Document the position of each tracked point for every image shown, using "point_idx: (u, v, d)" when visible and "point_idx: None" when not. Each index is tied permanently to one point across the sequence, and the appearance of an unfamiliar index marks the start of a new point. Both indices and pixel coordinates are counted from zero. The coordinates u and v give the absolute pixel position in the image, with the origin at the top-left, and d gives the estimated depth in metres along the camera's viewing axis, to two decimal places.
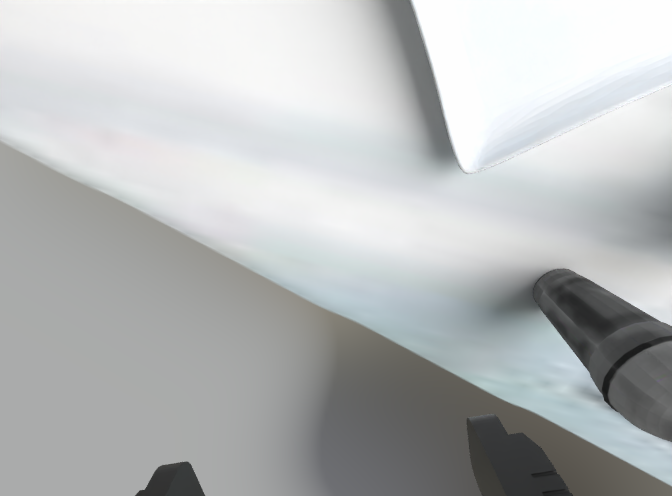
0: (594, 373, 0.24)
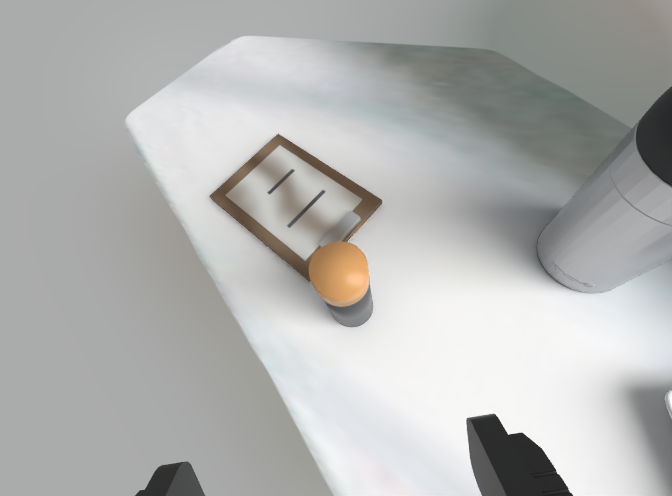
0: None
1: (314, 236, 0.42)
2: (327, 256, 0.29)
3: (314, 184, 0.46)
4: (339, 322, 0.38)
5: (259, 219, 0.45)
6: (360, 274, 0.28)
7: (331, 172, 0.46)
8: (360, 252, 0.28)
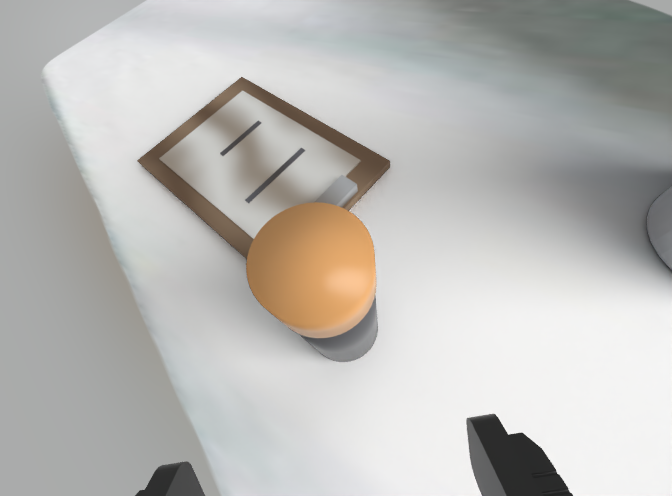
0: None
1: None
2: (288, 234, 0.13)
3: (289, 141, 0.31)
4: (322, 354, 0.23)
5: (204, 191, 0.29)
6: (357, 272, 0.12)
7: (314, 124, 0.31)
8: (358, 224, 0.13)
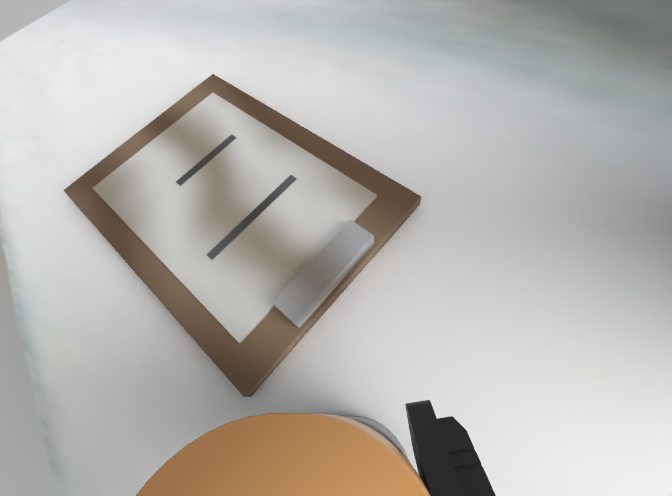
0: None
1: (266, 281, 0.18)
2: None
3: (273, 164, 0.22)
4: None
5: (150, 239, 0.20)
6: None
7: (309, 140, 0.22)
8: None
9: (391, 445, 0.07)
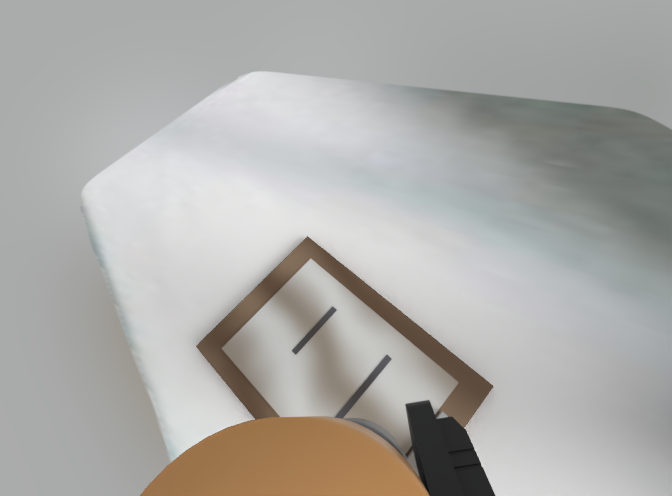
0: None
1: None
2: None
3: (371, 341, 0.27)
4: None
5: (278, 406, 0.26)
6: None
7: (398, 318, 0.28)
8: None
9: (392, 448, 0.06)
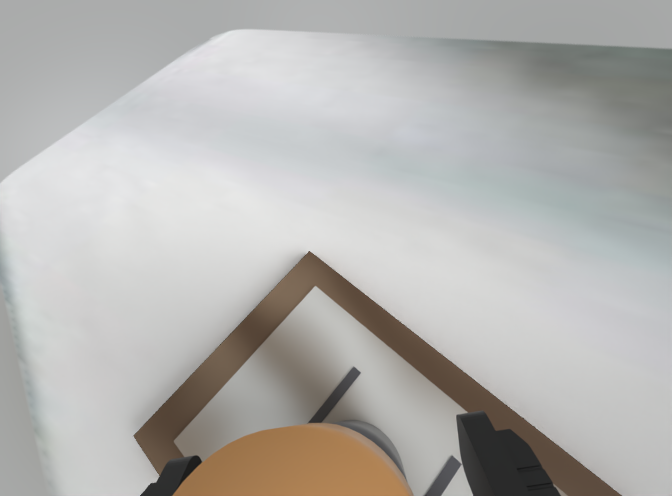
0: None
1: None
2: None
3: (423, 430, 0.16)
4: None
5: None
6: None
7: (463, 386, 0.17)
8: None
9: (379, 450, 0.08)
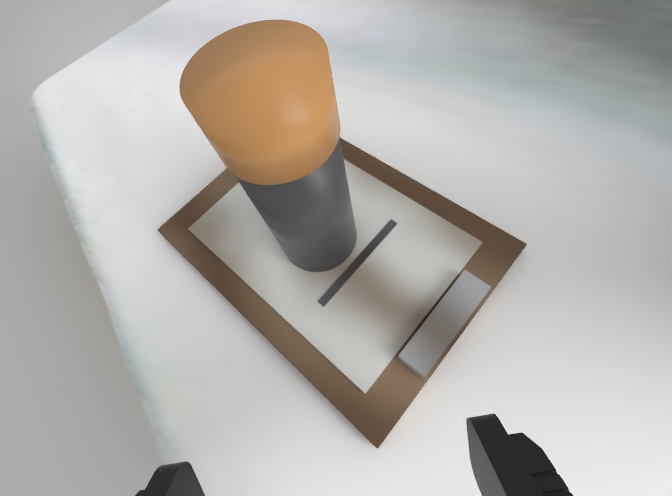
0: None
1: (382, 330, 0.18)
2: (231, 49, 0.11)
3: (371, 207, 0.22)
4: (295, 264, 0.21)
5: (256, 284, 0.21)
6: (307, 73, 0.10)
7: (403, 182, 0.23)
8: (311, 33, 0.11)
9: None
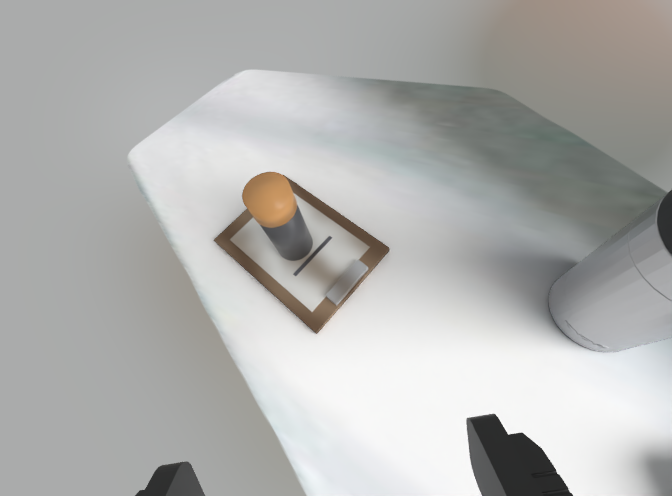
0: None
1: (321, 286, 0.42)
2: (258, 184, 0.35)
3: (320, 229, 0.45)
4: (283, 257, 0.44)
5: (264, 266, 0.44)
6: (283, 195, 0.33)
7: (337, 216, 0.46)
8: (285, 179, 0.34)
9: None
